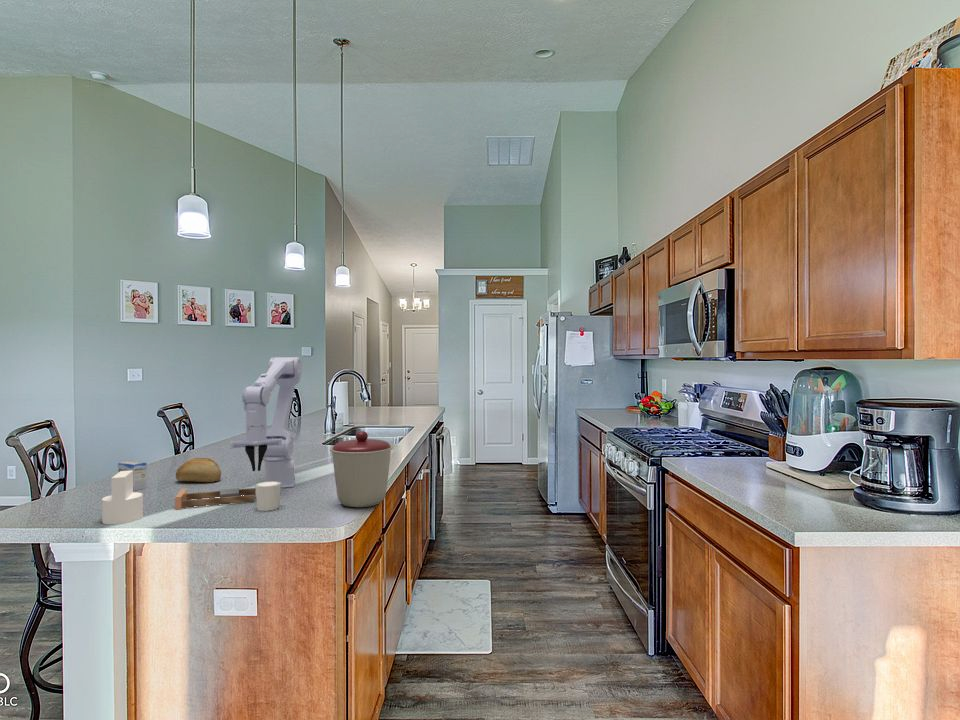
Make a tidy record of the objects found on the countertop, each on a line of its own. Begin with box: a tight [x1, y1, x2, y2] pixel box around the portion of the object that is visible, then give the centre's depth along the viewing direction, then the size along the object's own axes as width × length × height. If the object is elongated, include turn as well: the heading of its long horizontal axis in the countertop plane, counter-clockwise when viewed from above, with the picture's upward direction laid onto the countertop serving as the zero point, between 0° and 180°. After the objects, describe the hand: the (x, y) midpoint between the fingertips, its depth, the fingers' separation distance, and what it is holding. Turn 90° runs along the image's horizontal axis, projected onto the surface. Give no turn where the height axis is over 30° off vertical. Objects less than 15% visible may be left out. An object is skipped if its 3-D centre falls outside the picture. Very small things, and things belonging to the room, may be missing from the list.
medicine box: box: [117, 460, 148, 492], centre depth 176 cm, size 8×4×9 cm, turn 68°
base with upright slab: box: [101, 470, 144, 525], centre depth 143 cm, size 9×9×12 cm
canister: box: [329, 430, 394, 508], centre depth 158 cm, size 18×18×21 cm
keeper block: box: [219, 487, 240, 498], centre depth 161 cm, size 5×6×3 cm
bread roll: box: [175, 457, 222, 483], centre depth 186 cm, size 10×15×8 cm, turn 91°
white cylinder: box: [254, 481, 281, 512], centre depth 153 cm, size 7×7×7 cm
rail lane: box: [174, 487, 256, 510], centre depth 160 cm, size 20×11×4 cm, turn 110°
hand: (256, 470), depth 164 cm, fingers closed
